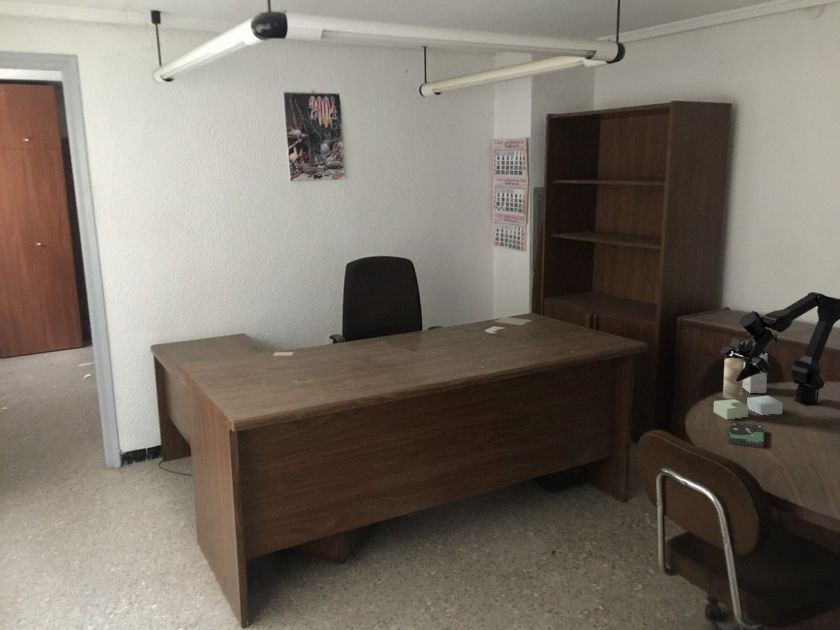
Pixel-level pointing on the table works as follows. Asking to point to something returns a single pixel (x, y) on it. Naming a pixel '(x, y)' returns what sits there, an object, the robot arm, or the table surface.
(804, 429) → the table surface
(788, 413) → the table surface
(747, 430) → the disk drive
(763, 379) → the skincare box
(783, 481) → the table surface
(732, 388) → the birch cylinder
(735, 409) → the sage block
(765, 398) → the blue-grey block
